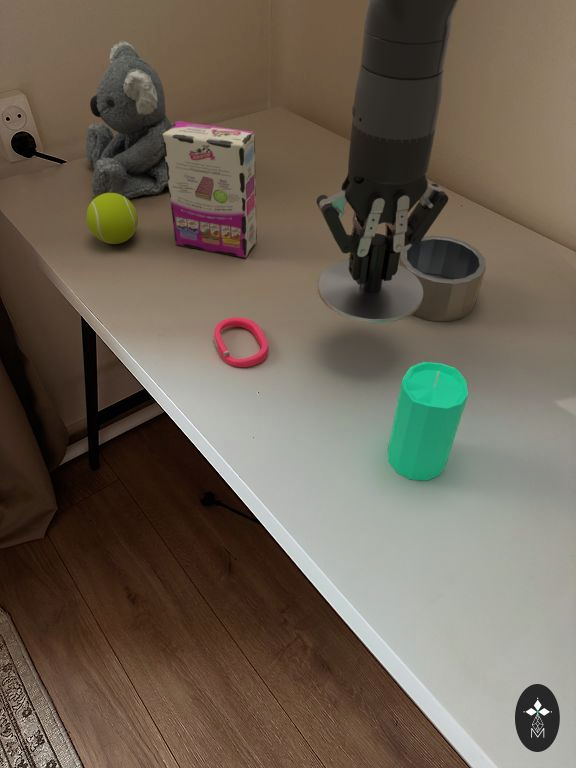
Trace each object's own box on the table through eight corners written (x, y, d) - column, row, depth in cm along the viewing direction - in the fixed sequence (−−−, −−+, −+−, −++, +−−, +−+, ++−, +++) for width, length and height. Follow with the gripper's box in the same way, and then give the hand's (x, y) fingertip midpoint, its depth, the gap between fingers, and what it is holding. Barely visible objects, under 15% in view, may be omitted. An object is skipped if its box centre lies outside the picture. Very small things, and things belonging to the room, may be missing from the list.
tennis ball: (98, 257, 89) (88, 212, 84) (86, 233, 94) (77, 189, 89) (146, 246, 91) (139, 202, 87) (133, 223, 96) (126, 180, 91)
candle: (414, 426, 68) (434, 340, 60) (458, 460, 65) (486, 375, 56) (374, 453, 65) (390, 368, 57) (419, 491, 62) (443, 406, 53)
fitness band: (207, 330, 78) (207, 321, 77) (252, 320, 80) (252, 311, 79) (228, 373, 73) (227, 363, 72) (275, 361, 75) (275, 351, 74)
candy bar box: (258, 241, 93) (257, 130, 82) (246, 259, 90) (243, 146, 78) (187, 228, 95) (176, 118, 84) (173, 245, 92) (160, 133, 80)
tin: (453, 269, 89) (462, 231, 85) (488, 315, 82) (500, 276, 78) (382, 278, 87) (388, 240, 83) (412, 326, 80) (420, 287, 76)
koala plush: (86, 160, 111) (60, 36, 97) (188, 148, 115) (177, 29, 101) (95, 208, 99) (68, 76, 85) (209, 193, 103) (200, 65, 89)
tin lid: (398, 260, 76) (408, 206, 71) (438, 319, 68) (452, 263, 63) (305, 272, 74) (308, 217, 69) (335, 334, 66) (341, 277, 61)
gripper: (333, 142, 53) (320, 307, 65) (483, 129, 56) (444, 290, 68) (308, 108, 58) (301, 267, 70) (447, 97, 61) (417, 252, 73)
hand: (372, 277), depth 69 cm, fingers closed on tin lid, 2 cm apart
